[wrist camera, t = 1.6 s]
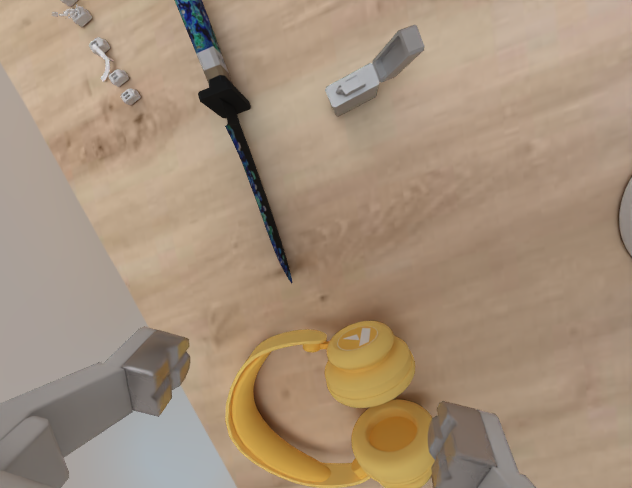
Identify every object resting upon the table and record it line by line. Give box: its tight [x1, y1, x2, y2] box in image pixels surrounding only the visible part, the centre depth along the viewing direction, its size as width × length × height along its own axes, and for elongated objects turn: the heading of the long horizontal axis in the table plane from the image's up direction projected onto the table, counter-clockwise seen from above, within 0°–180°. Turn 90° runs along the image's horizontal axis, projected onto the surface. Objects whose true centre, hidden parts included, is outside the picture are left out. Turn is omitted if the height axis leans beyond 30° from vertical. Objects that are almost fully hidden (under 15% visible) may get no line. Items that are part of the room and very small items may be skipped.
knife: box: [175, 0, 292, 283], centre depth 29 cm, size 31×3×4 cm, turn 14°
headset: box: [225, 321, 435, 488], centre depth 32 cm, size 18×21×9 cm
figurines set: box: [52, 0, 141, 105], centre depth 30 cm, size 12×3×3 cm, turn 30°
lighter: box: [325, 25, 424, 116], centre depth 25 cm, size 7×2×8 cm, turn 115°
